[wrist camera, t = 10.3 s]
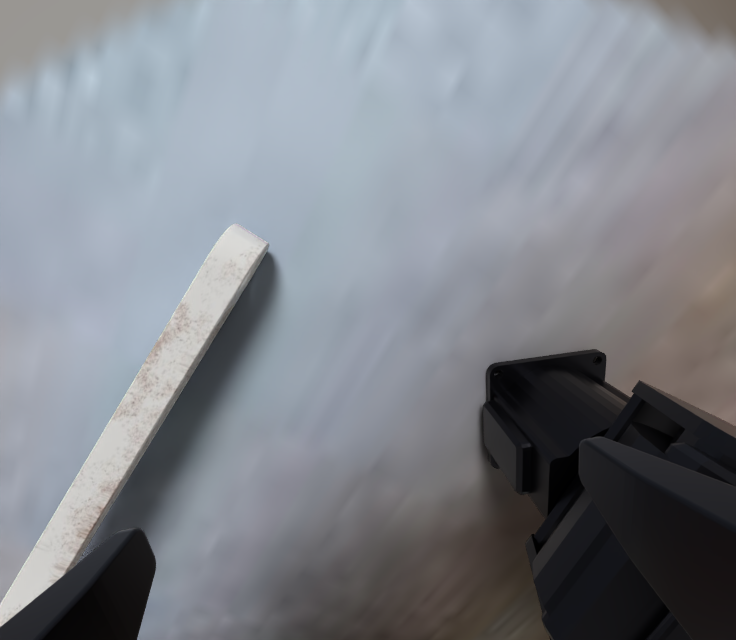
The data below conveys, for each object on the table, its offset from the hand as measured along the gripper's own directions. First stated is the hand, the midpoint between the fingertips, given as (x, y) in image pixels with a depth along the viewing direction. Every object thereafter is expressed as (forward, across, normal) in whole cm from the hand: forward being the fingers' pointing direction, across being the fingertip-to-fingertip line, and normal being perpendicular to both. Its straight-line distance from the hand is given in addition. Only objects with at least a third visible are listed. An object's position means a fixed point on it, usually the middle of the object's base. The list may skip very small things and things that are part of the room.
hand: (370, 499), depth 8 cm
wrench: (+12, +13, +6) cm, 19 cm away
